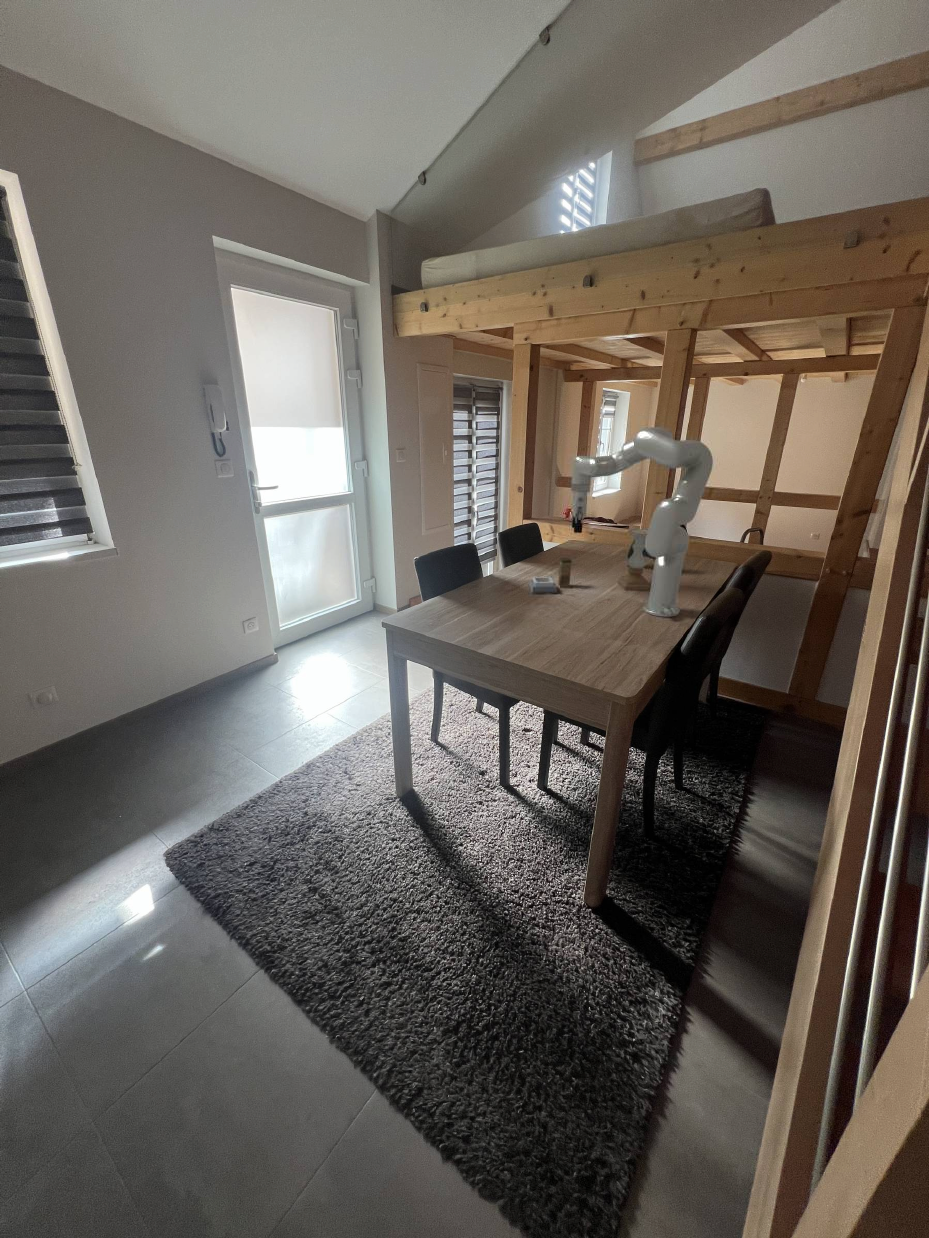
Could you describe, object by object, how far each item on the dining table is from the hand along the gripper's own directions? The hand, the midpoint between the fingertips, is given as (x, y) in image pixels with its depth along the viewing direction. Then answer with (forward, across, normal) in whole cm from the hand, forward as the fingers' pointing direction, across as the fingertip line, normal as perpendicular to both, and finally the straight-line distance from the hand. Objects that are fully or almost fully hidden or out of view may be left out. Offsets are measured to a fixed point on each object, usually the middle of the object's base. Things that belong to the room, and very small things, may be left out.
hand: (576, 530), depth 206 cm
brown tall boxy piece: (+24, -3, +4) cm, 24 cm away
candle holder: (+24, 0, -26) cm, 35 cm away
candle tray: (+24, -10, +13) cm, 29 cm away
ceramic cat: (+24, +27, -37) cm, 52 cm away
